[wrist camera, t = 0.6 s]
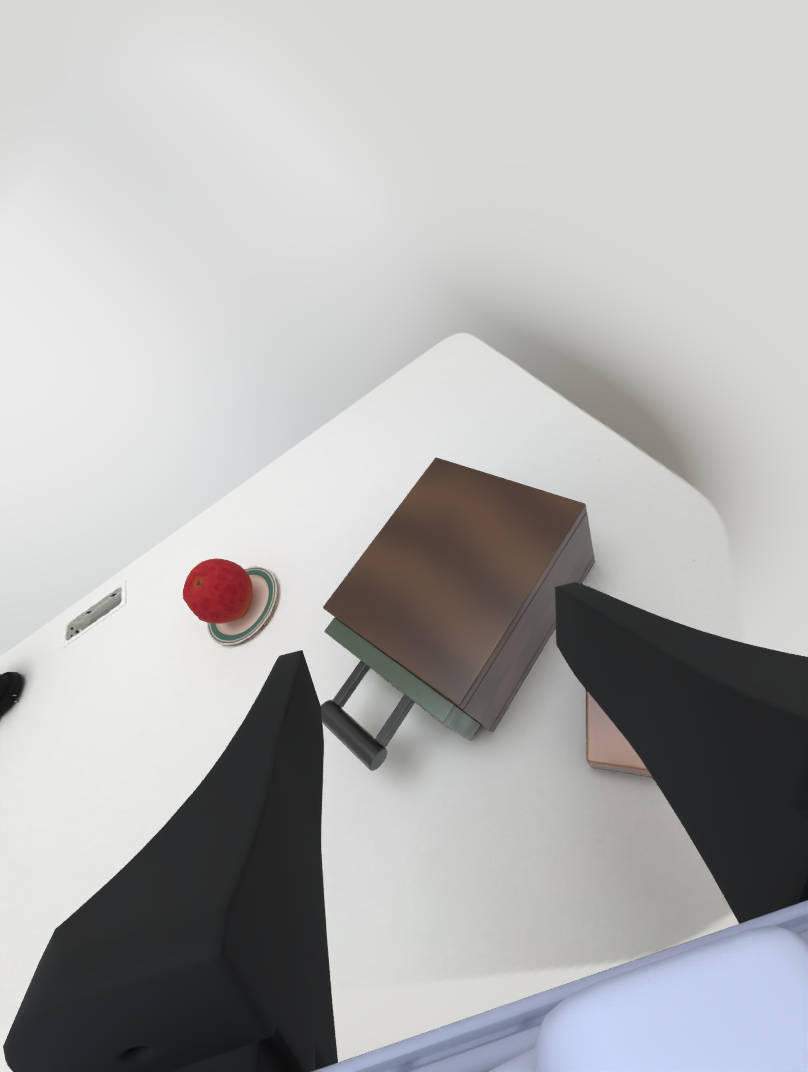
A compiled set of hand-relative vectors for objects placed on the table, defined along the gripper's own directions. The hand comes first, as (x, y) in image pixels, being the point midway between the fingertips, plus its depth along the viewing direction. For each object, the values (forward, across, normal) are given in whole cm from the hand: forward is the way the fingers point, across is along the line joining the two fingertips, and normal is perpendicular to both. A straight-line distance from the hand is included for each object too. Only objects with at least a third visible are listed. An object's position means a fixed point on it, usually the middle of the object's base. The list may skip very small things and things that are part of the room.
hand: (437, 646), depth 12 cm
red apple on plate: (+29, +13, +14) cm, 35 cm away
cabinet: (+17, -6, +11) cm, 22 cm away
